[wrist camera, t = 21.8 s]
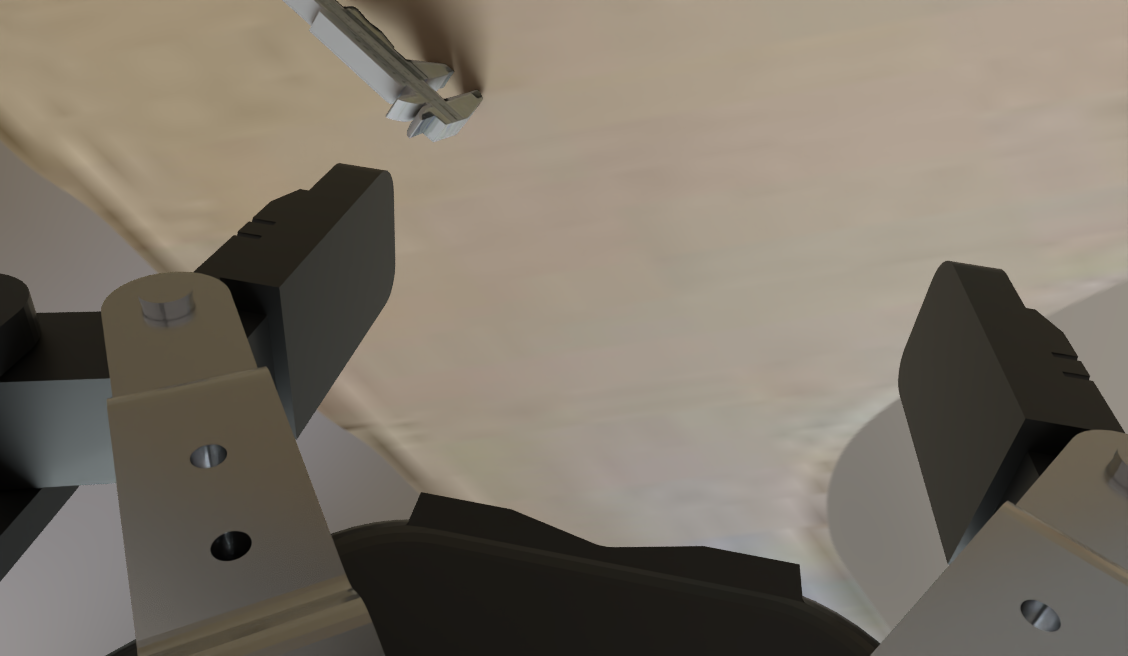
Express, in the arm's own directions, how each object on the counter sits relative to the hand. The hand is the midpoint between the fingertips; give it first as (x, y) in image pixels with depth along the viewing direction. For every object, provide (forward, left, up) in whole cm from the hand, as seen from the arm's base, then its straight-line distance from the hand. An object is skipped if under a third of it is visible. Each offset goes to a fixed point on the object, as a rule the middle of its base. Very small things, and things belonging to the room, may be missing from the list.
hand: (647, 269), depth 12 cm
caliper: (-18, -2, -27) cm, 32 cm away
